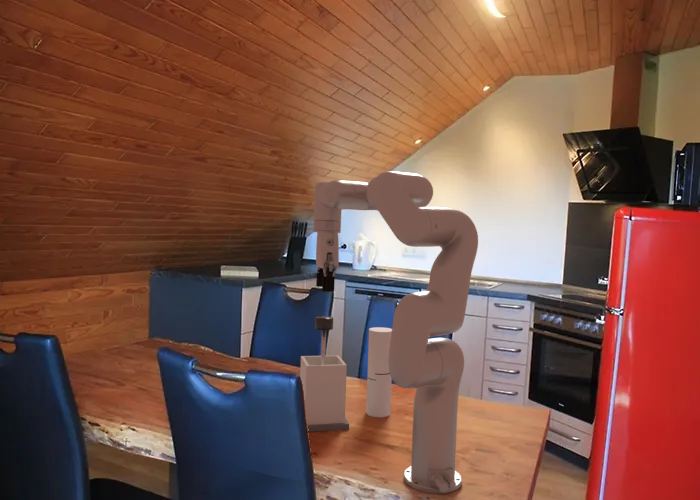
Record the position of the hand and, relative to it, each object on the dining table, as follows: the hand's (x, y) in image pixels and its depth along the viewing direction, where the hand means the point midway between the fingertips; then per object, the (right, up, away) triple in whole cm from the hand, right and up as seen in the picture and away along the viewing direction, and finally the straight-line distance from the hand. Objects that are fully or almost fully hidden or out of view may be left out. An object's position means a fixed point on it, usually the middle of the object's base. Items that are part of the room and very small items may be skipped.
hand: (324, 288), depth 156 cm
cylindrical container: (+15, -38, +11) cm, 42 cm away
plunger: (-1, -30, +1) cm, 30 cm away
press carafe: (-1, -38, +2) cm, 38 cm away
